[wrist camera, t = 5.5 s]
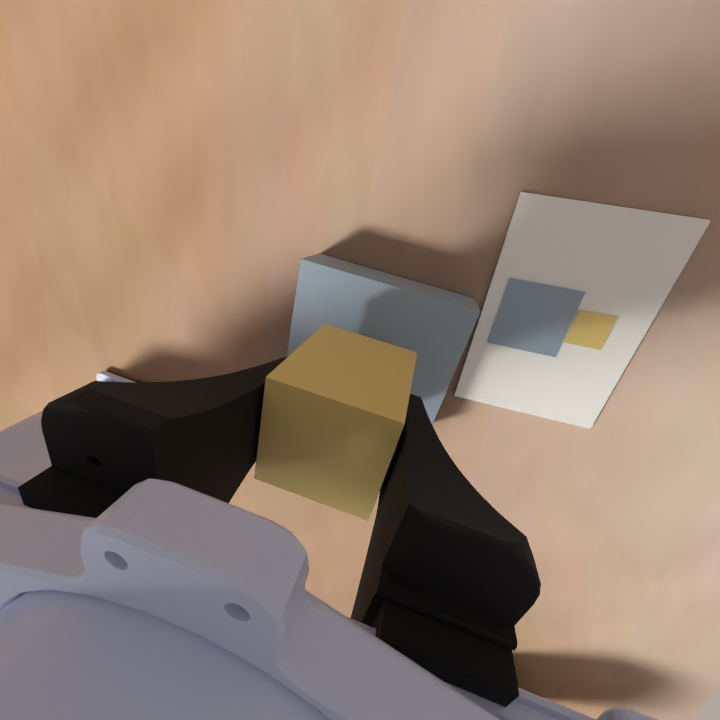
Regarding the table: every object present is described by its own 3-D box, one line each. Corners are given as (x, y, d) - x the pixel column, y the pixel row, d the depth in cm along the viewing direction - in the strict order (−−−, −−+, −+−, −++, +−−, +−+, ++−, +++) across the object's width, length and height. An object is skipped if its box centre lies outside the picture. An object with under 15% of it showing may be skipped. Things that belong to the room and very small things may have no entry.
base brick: (297, 384, 20) (279, 405, 18) (319, 253, 16) (300, 258, 14) (422, 426, 19) (419, 454, 17) (474, 298, 15) (480, 311, 13)
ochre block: (309, 401, 15) (254, 478, 11) (324, 323, 13) (265, 376, 9) (390, 428, 15) (368, 520, 10) (417, 352, 13) (404, 423, 8)
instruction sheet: (454, 394, 18) (454, 396, 17) (520, 192, 13) (522, 191, 13) (588, 426, 17) (591, 429, 16) (707, 220, 12) (713, 220, 12)
